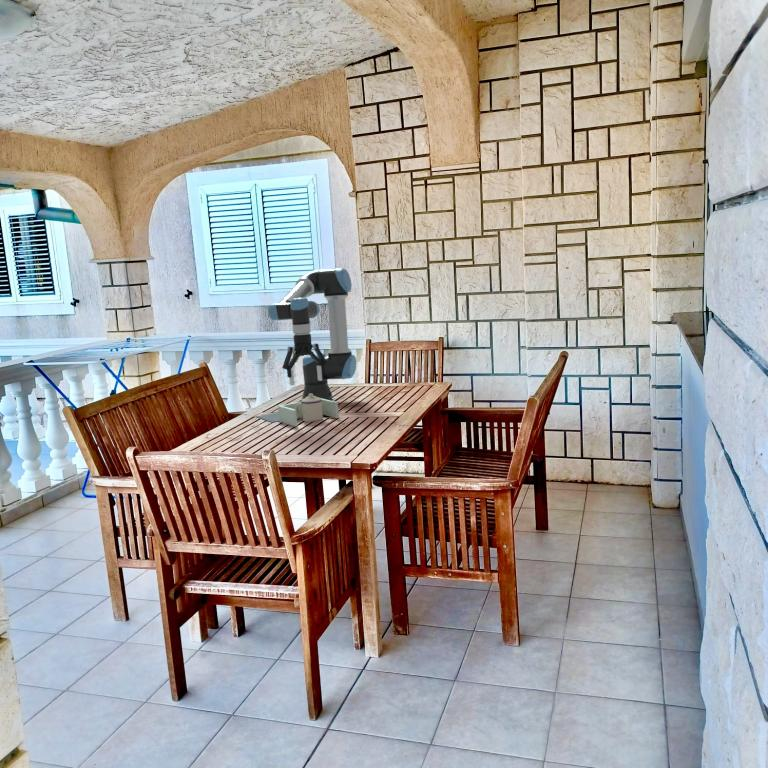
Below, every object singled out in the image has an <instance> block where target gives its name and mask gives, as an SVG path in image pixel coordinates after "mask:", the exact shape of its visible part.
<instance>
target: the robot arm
mask: <svg viewBox="0 0 768 768" xmlns="http://www.w3.org/2000/svg"><path fill="white" fill-rule="evenodd" d="M352 285H353V284H352V280H351V276H350V274H349V271H348V270H347V269H345V268H343V267H342V268H341V267H340V268H337V267H336V268H324V269H314V270H311V271H309V272H307V273H306V274H304V275H302V276H301V277H300V278H299V279H298V280H297V281H296V282H295V285H294V286H293V288H292V289H290V291H289V292H288V293H287V294H286V295H284V296H283V298H282V299H281V300H280V301H279V302H278V303H277V302H275V303H270V304H269V305H268V308H267V309H268V310H267V314H268V316H269V317H268V318H269V319H270V320H272V321H286V320H287V321H288V320H291V321H292V332H293V344H294V346H287V353H286V355H285V358H284V361H283V364H282V369H283V370H286V373H287V374H286V375H287V378H289V385H290V386H295V377H294V376H295V375H294V369H293V367H294V366H295V363H296V362H297V361H298V359H299V358H300V357H303V356H304V357H303V358H302V366H301V367H302V374H303V383H304V388H303V391H302V397H301V400H302V399H305V398H306V397H307V396H309V394H313V396H316V397H318V398H322V399H326V400H330V401H333V393H332V391H331V389H330V386H329V383H328V380H345V379H346V380H348V379H349V380H350V379H351V378H354V375H355V373H356V370H357V358H356V356H355V355H354V354H353V353H352V350H351V349H350V347H349V341H348V324H347V308H346V306H347V305H346V299H347V298H348V296H349V293H350V292H351V290H352ZM317 294H318V295H319V294H323V295H324V296H323V297H324V298H325V300H327V309H328V326H329V327H328V328H329V341H330V350H328V352H327V355H326V353H325V352H322V351H321V349H320V347H319V343H316V342H314V343H313V344H312V335H311V323H310V322H311V320H310V319H314V318H316V317H317V316H319V313H320V306H319V304H318V303H317V302H316V301H314V300H309V299H308V298H309V297H311V296H312V295H317ZM312 349H314V351H313V350H312ZM294 351H295V352H294ZM293 352H294V354H293ZM314 352H315V353H314Z"/></svg>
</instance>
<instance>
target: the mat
mask: <svg viewBox="0 0 768 768" xmlns="http://www.w3.org/2000/svg"><path fill="white" fill-rule="evenodd" d="M255 417H256V418H257V419H260V420H264V421H267V422H270V423H278V422H280V421H279V413H278V412H275V413H274V412H273V413H267V414H263V415H262V414H261V415H257V416H255Z"/></svg>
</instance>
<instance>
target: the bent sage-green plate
mask: <svg viewBox="0 0 768 768" xmlns="http://www.w3.org/2000/svg"><path fill="white" fill-rule="evenodd" d="M321 400H322V401H321V403H322V415H323V416H327V417H329V418H330V417H331V418H333V419H334V418H335V419H339V418H340V416H339V415H340V414H339V404H338V403H339V402H338V401H333V400H326V399H322V398H321ZM298 404H302V403H301V401H297V402H292V403H287V404H280V405H277V413H279V421H278V422H281V423H282V424H286V425H289V426H292V427H299V426H298V419H303V415H300V414H298V413H297V411H296V406H297V405H298ZM298 411H299V412H300V413H302V405H300V406H298Z"/></svg>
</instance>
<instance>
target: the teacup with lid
mask: <svg viewBox="0 0 768 768" xmlns="http://www.w3.org/2000/svg"><path fill="white" fill-rule="evenodd" d="M321 401H322V400H321V398H318V397H316V396H313V394H309V396H307V397H306V398H305V399H302V398H301V401H300V402H301V403H302V404H298V405H297V406H296V411H297V413H298V414H300V415H303V418H302V420H303V422H307V423H311V422H313V423H314V422H319V421H322V420H323V417H324V415H323V414H322V403H321ZM300 405H302V413H300V412H299V411H298V406H300Z"/></svg>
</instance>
